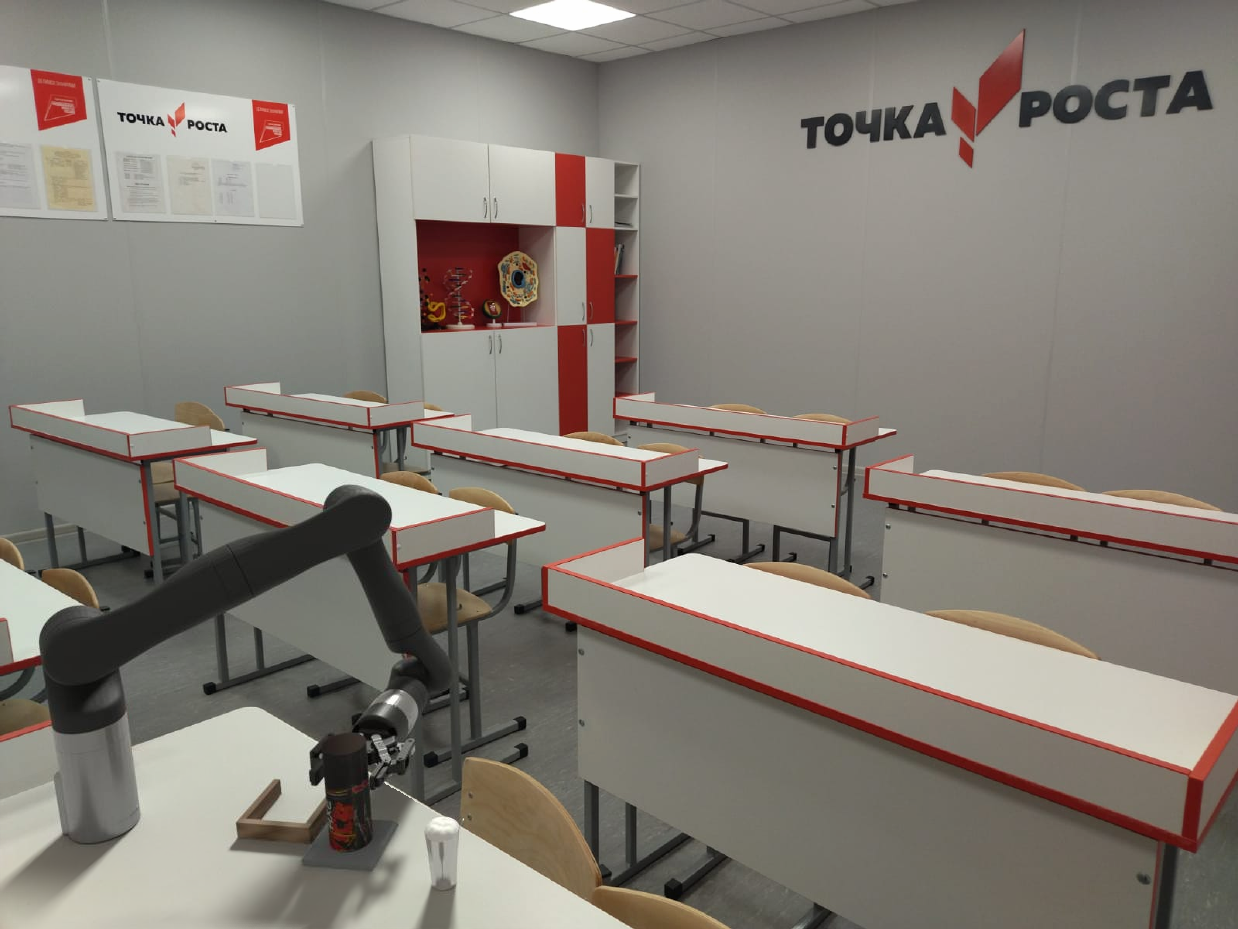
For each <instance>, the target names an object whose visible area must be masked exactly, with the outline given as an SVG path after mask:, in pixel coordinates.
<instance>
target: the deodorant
mask: <svg viewBox="0 0 1238 929" xmlns="http://www.w3.org/2000/svg"><path fill="white" fill-rule="evenodd" d="M322 758H323V770H324V778H323V779H324V780H323V781H324V792H325V797H326V806H327V818H328V819H327V824H328V830H329V842H330V846H331V848H332V849H334V850H335V851H338V852H353V851H357V850H359V849H362V848H363V847H365V846H367V845H368V844H369V843H370V842H371V840H372V837H373V829H372V819H373V818H372V817H373V816H372V805H371V803H372V802H371V790H370V786H369V777H370V774H369V765H368V759H367V745H366V738H365V737H364V736H363V735H361V734H358V733H351V732H343V733H339V734H334V736H332V737H330V738H328V739H327V740H326V741H325V742H324V743H323V744H322Z"/></svg>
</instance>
